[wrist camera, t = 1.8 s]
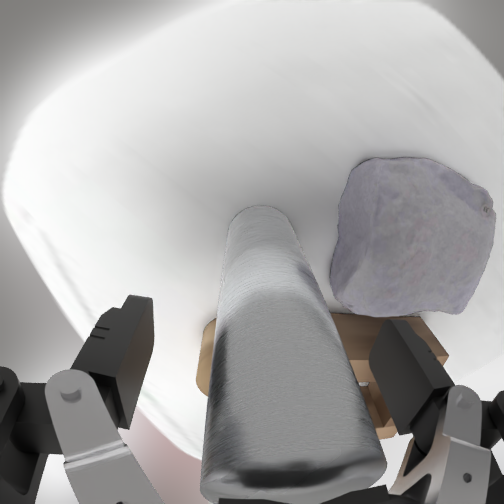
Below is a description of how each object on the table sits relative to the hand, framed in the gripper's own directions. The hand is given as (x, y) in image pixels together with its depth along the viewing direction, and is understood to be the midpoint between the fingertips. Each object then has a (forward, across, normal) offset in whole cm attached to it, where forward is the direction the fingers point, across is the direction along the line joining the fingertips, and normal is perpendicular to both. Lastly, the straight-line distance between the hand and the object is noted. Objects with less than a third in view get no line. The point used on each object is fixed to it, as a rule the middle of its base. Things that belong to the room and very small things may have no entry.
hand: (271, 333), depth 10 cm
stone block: (+10, -11, -2) cm, 15 cm away
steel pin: (+10, 0, 0) cm, 10 cm away
